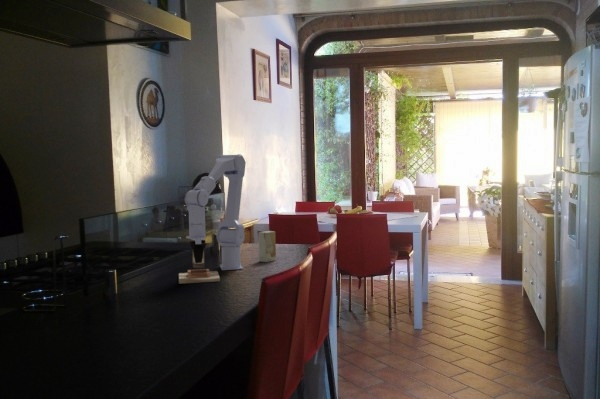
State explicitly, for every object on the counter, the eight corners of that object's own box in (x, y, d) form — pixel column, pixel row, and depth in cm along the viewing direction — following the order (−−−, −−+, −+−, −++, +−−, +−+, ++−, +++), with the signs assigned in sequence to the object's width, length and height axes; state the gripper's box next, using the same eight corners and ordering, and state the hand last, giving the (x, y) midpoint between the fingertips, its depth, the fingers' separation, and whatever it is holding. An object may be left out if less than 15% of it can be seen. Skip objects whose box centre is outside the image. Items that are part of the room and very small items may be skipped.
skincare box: (266, 262, 238) (265, 232, 237) (258, 261, 240) (257, 232, 240) (276, 260, 243) (275, 231, 242) (268, 259, 246) (267, 230, 245)
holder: (178, 275, 214) (178, 269, 214) (217, 273, 217) (217, 266, 217) (179, 283, 200) (178, 276, 200) (220, 281, 203) (219, 274, 203)
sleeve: (193, 266, 210) (192, 246, 209) (204, 265, 211) (203, 246, 210) (192, 268, 206) (192, 248, 205) (204, 267, 206) (203, 248, 206)
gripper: (185, 222, 213) (186, 258, 214) (186, 226, 199) (187, 265, 200) (205, 221, 215) (206, 257, 216) (206, 225, 201) (208, 264, 202)
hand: (198, 261), depth 208 cm, fingers closed on sleeve, 4 cm apart
